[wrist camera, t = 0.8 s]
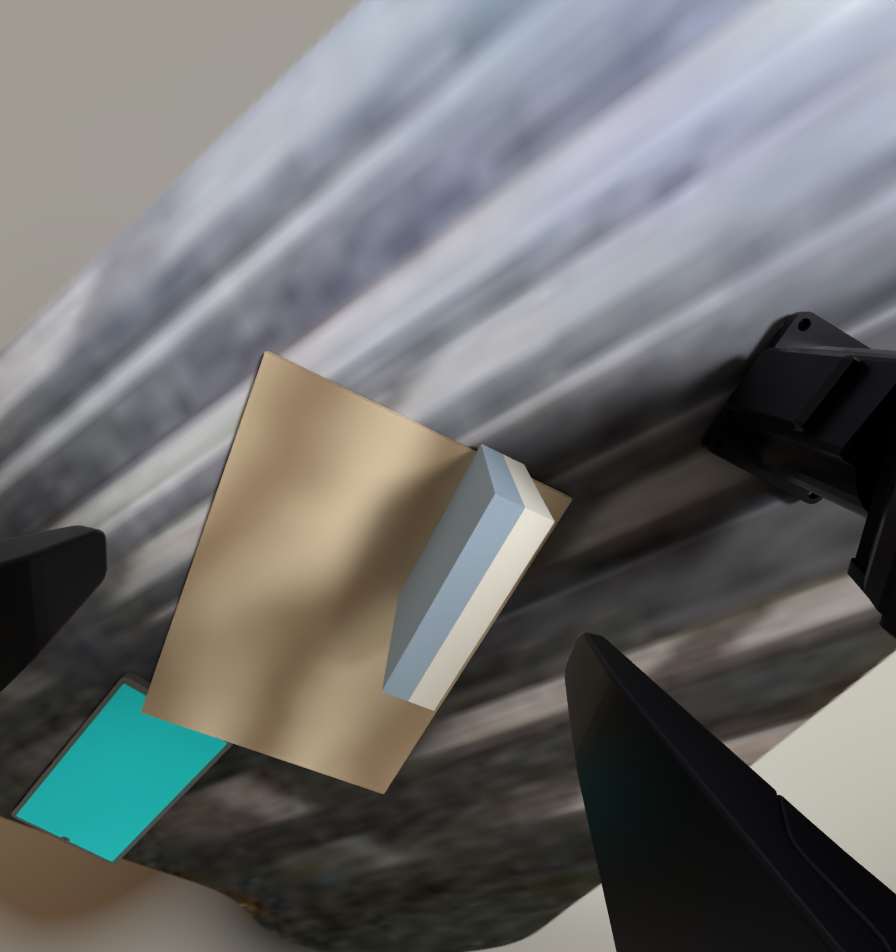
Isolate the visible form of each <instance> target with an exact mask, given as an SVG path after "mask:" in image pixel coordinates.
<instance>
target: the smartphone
mask: <svg viewBox="0 0 896 952" xmlns="http://www.w3.org/2000/svg"><path fill="white" fill-rule="evenodd" d="M150 684H151V683H150V682H148V681H147V680H145V679H143V678H141V677H140V676H138V675H136V674H134V673H132V672H127V673H126V674H124V676H123V677H122V678H121V679H120V680H119V681H118V682H117V684H116V685H115V686H114V687H113V689H112V690H111V691H110V692H109V694H108V695H107V696H106V697H105V698H104V700H103V701H102V702H101V703H100V705H99V706H98V707H97V708H96V710H95V711H94V712H93V713H92V715H91V716H90V717H89V718H88V719H87V721H86V722H85V723H84V724H83V726H82V727H81V728H80V729H79V731H78V732H77V733H76V734H75V736H74V737H73V738H72V739H71V740H70V742H69V743H68V744H67V745H66V747H63V748H62V749H61V751H60V752H59V753H58V754H57V755H56V757H55V758H56V759H55V760H54V761H53V763H50V764H49V765H48V767H47V768H46V769H45V770H44V772H43V773H42V774H41V775H40V776H39V778H38V779H37V780H36V781H35V783H34V784H33V785H32V786H31V788H30V789H29V790H28V791H27V795H26V796H25V797H24V798H23V800H22V801H21V802H20V803H19V805H18V806H17V807H16V808H15V810H14V811H13V812H12V816H13V817H14V818H15V819H17V820H20V821H22V822H24V823H26V824H28V825H30V826H32V827H34V828H36V829H39V830H41V831H43V832H45V833H47V834H49V835H51V836H53V837H55V838H57V839H59V840H60V841H63V842H65V843H68V844H70V845H73V846H74V847H77V848H79V849H81V850H83V851H85V852H87V853H89V854H91V855H93V856H95V857H98V858H100V859H102V860H104V861H106V862H108V863H111V864H116V863H117V862H118V861H119V860H120V859H121V858H122V857H123V856H124V855H125V854H126V853H127V852H128V851H129V850H130V849H131V848H132V847H133V846H134V845H135V844H136V843H137V842H138V841H139V840H140V839H141V838H142V837H143V836H144V835H145V834H146V833H147V832H148V831H149V830H150V829H151V828H152V826H153V825H154V824H155V823H156V822H157V821H158V820H159V819H160V818H161V817H162V816H163V815H164V814H165V813H166V812H167V811H168V810H169V809H170V808H171V807H172V806H173V805H174V804H175V803H176V802H177V801H178V800H179V799H180V798H181V797H182V796H183V795H184V794H185V793H186V792H187V791H188V790H189V789H190V788H191V787H192V786H193V785H194V784H195V783H196V782H197V781H198V779H199V778H200V777H201V776H202V775H203V774H204V773H205V772H206V771H207V770H208V769H209V768H210V767H211V766H212V765H213V764H214V763H215V762H216V761H217V760H218V759H219V758H220V757H221V756H222V755H223V754H224V753H225V752H226V751H227V750H228V749H229V748H230V747H231V746H232V745H233V743H230V742H227V741H224V740H221V739H219V738H218V737H212V736H209V735H206V734H203V733H200V732H197V731H194V730H191V729H188V728H186V727H183V726H180V725H177V724H174V723H171V722H168V721H165V720H162V719H159V718H156V717H153V716H150V715H147V714H144V713H141V710H142V708H143V705H144V702H145V699H146V696H147V693H148V690H149V687H150Z"/></svg>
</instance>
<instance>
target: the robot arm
mask: <svg viewBox="0 0 896 952" xmlns="http://www.w3.org/2000/svg"><path fill="white" fill-rule="evenodd" d="M801 320H803V326H802V328H801V329H800V330H799V329H798V324H799V322H800V321H801ZM718 437H719V442H718V443H717V444H716V445H714V446H713V441H714V440H715V439H716V438H718ZM702 445H703V447H704V448H705V449H706V450H708V451H709V452H711V453H713V454H715V455H717V456H719V457H721V458H723V459H725V460H726V461H728V462H730V463H732V464H734V465H736V466H738V467H740V468H741V469H743V470H745V471H747V472H749V473H751V474H753V475H755V476H757V477H758V478H760V479H762V480H764V481H766V482H768V483H770V484H772V485H773V486H775V487H777V488H779V489H781V490H783V491H785V492H787V493H789V494H790V495H792V496H794V497H796V498H798V499H800V500H802V501H804V502H806V503H809V504H815V503H817V502H819V501H820V500H821V499H822V498H825V499H827V500H829V501H831V502H833V503H836V504H838V505H840V506H842V507H844V508H846V509H848V510H851V511H853V512H855V513H857V514H859V515H861V516H863V517H865V518H867V519H866V522H865V526H864V529H863V533H862V536H861V540H860V544H859V547H858V551H857V554H856V558H852V559H851V561H850V565H849V568H848V572H847V573H848V575H849V576H850V577H851V578H852V579H853V580H854V581H855V583H856V584H857V585H858V586H859V587H860V588H861V590H862V591H863V592H864V593H865V594H866V595H867V597H868V598H869V599H870V601H871V602H872V604H873V605H874V606H875V608H876V609H877V610H878V611H879V612H880V613H881V614H882V615H881V619H880V622H879V624H880V625H881V627H882V628H883V629H884V630H885V631H886V632H887V633H888V634H889V635H891V636H892V637H893V638H895V639H896V351H891V350H876V349H870V348H869V347H867V346H865V345H864V344H862V343H861V342H859V341H857V340H856V339H854V338H852V337H851V336H849V335H848V334H846V333H844V332H843V331H841V330H840V329H838V328H836V327H835V326H833V325H831V324H830V323H828V322H827V321H825V320H823V319H822V318H820V317H818V316H817V315H815V314H814V313H811V312H796V313H794V314H792V315H791V316H790V317H789V318H788V319H787V320H786V322H785V323H784V325H783V326H782V327H781V329H780V330H779V332H778V333H777V334H776V336H775V337H774V339H773V340H772V341H771V343H770V344H769V346H768V347H767V348H766V350H763V351H762V352H761V354H760V355H759V357H758V358H757V360H756V361H755V362H754V364H753V365H752V367H751V368H750V369H749V371H748V372H747V374H746V375H745V376H744V378H743V379H742V381H741V382H740V383H739V385H738V386H737V388H736V389H735V390H734V392H733V393H732V395H731V396H730V398H729V399H728V400H727V405H726V406H725V407H724V409H723V410H722V412H721V413H720V414H719V416H718V417H717V419H716V420H715V421H714V423H713V424H712V426H711V427H710V428H709V430H708V431H707V433H706V434H705V435H704V438H703V440H702ZM809 492H812V493H811V494H810V495H808V494H809ZM106 571H107V553H106V536H105V534H104V532H102V531H101V530H99V529H94V528H89V527H85V526H71V527H65V528H60V529H55V530H50V531H44V532H39V533H34V534H29V535H23V536H18V537H13V538H8V539H2V540H0V692H1V691H2V690H3V689H4V688H5V687H6V686H7V685H8V684H9V683H10V682H11V681H12V680H13V679H15V678H16V677H17V676H18V675H19V674H20V673H21V672H22V671H23V670H24V669H25V668H26V667H27V666H28V665H29V664H30V663H31V662H32V661H33V660H34V659H35V658H36V657H37V656H38V655H39V654H40V653H41V651H42V650H43V649H44V648H45V647H46V646H47V645H48V644H49V643H50V642H51V640H52V639H53V638H54V637H55V636H56V635H57V634H58V632H59V631H60V630H61V629H62V628H63V627H64V625H65V624H66V623H67V622H68V621H69V620H70V618H71V617H72V616H73V615H74V614H75V613H76V612H77V610H78V609H79V608H80V607H81V606H82V605H83V603H84V602H85V601H86V600H87V599H88V598H89V597H90V595H91V594H92V593H93V592H94V591H95V590H96V588H97V587H98V586H99V585H100V584H101V582H102V581H103V579H104V577H105V575H106ZM565 684H566V693H567V702H568V710H569V719H570V728H571V736H572V745H573V752H574V758H575V763H576V769H577V773H578V778H579V783H580V787H581V792H582V796H583V801H584V805H585V810H586V814H587V819H588V824H589V828H590V833H591V837H592V842H593V846H594V851H595V856H596V860H597V865H598V869H599V874H600V878H601V883H602V887H603V892H604V897H605V901H606V906H607V910H608V915H609V919H610V924H611V928H612V933H613V937H614V942H615V947H616V951H617V952H896V894H895V893H894V892H892V890H890V889H889V888H888V887H887V886H886V885H884V884H883V883H882V882H881V881H880V880H878V879H877V878H876V877H875V876H874V875H872V874H871V873H870V872H869V871H868V870H866V869H865V868H864V867H863V866H862V865H860V864H859V863H858V862H857V861H855V860H854V859H853V858H852V857H851V856H850V855H848V854H847V853H846V852H845V851H844V850H842V848H840V847H839V846H838V845H837V844H836V843H835V842H834V841H832V840H831V839H830V838H829V837H828V836H826V834H824V833H823V832H822V831H821V830H820V829H819V828H817V827H816V826H815V825H814V824H813V823H812V822H811V821H809V820H808V819H807V818H806V817H805V816H804V815H803V814H802V813H800V812H799V811H798V810H797V809H796V808H795V807H794V806H793V805H791V804H790V803H789V802H788V801H787V800H786V799H785V798H784V797H782V796H781V795H777V793H776V791H775V789H773V788H772V787H771V786H770V785H769V784H768V783H767V782H766V781H764V780H763V779H762V778H761V777H760V776H759V775H758V774H757V773H756V772H754V771H753V770H752V769H751V768H750V767H749V766H748V765H747V764H746V763H744V762H743V761H742V760H741V759H740V758H739V757H738V756H737V755H735V754H734V753H733V752H732V751H731V750H730V749H729V748H728V747H726V746H725V745H724V744H723V743H722V742H721V741H720V740H719V739H718V738H716V737H715V736H714V735H713V734H712V733H711V732H710V731H709V730H707V729H706V728H705V727H704V726H703V725H702V724H701V723H700V722H698V721H697V720H696V719H695V718H694V717H693V716H692V715H691V714H689V713H688V712H687V711H686V710H685V709H684V708H683V707H682V706H681V705H679V704H678V703H677V702H676V701H675V700H674V699H673V698H672V697H670V696H669V695H668V694H667V693H666V692H665V691H664V690H663V689H661V688H660V687H659V686H658V685H657V684H656V683H655V682H654V681H653V680H651V679H650V678H649V677H648V676H647V675H646V674H645V673H644V672H642V671H641V670H640V669H639V668H638V667H637V666H636V665H635V664H633V663H632V662H631V661H630V660H629V659H628V658H627V657H626V656H625V655H623V654H622V653H621V652H620V651H619V650H618V649H617V648H616V647H614V646H613V645H612V644H611V643H610V642H609V641H608V640H607V639H605V638H604V637H603V636H601V635H597V634H592V633H587V632H582V633H580V634H579V635H578V637H577V639H576V641H575V644H574V646H573V649H572V651H571V653H570V656H569V658H568V661H567V663H566V667H565Z"/></svg>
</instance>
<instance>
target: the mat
mask: <svg viewBox="0 0 896 952" xmlns="http://www.w3.org/2000/svg"><path fill="white" fill-rule="evenodd" d="M476 452H477V451H475V450H473V449H471V448H469V447H467V446H465V445H462V444H460V443H458V442H456V441H454V440H452V439H450V438H448V437H446V436H444V435H442V434H440V433H438V432H436V431H433V430H431V429H429V428H427V427H425V426H423V425H421V424H419V423H417V422H415V421H413V420H411V419H409V418H407V417H404V416H402V415H400V414H398V413H396V412H394V411H392V410H390V409H388V408H386V407H384V406H382V405H380V404H378V403H375V402H373V401H371V400H369V399H367V398H365V397H363V396H361V395H359V394H357V393H355V392H353V391H351V390H349V389H346V388H344V387H342V386H340V385H338V384H336V383H334V382H332V381H330V380H328V379H326V378H324V377H322V376H320V375H317V374H315V373H313V372H311V371H309V370H307V369H305V368H303V367H301V366H299V365H297V364H295V363H293V362H291V361H288V360H286V359H284V358H282V357H280V356H278V355H276V354H274V353H272V352H270V351H266V352H265V353H264V356H263V359H262V362H261V365H260V368H259V371H258V374H257V377H256V379H255V382H254V385H253V388H252V391H251V394H250V397H249V400H248V403H247V406H246V408H245V411H244V414H243V417H242V420H241V423H240V426H239V429H238V432H237V435H236V438H235V440H234V443H233V446H232V449H231V452H230V455H229V458H228V461H227V464H226V467H225V469H224V472H223V475H222V478H221V481H220V484H219V487H218V490H217V493H216V496H215V499H214V501H213V504H212V507H211V510H210V513H209V516H208V519H207V522H206V525H205V528H204V530H203V533H202V536H201V539H200V542H199V545H198V548H197V551H196V554H195V557H194V559H193V562H192V565H191V568H190V571H189V574H188V577H187V580H186V583H185V586H184V589H183V591H182V594H181V597H180V600H179V603H178V606H177V609H176V612H175V615H174V618H173V620H172V623H171V626H170V629H169V632H168V635H167V638H166V641H165V644H164V647H163V650H162V652H161V655H160V658H159V661H158V664H157V667H156V670H155V673H154V676H153V679H152V681H151V684H150V687H149V690H148V693H147V696H146V699H145V702H144V705H143V708H142V710H141V713H144V714H147V715H150V716H153V717H156V718H159V719H162V720H165V721H168V722H171V723H174V724H177V725H180V726H183V727H186V728H188V729H191V730H194V731H197V732H200V733H203V734H206V735H209V736H212V737H218V738H219V739H221V740H224V741H227V742H230V743H233V744H236V745H239V746H242V747H245V748H248V749H251V750H254V751H257V752H260V753H263V754H266V755H269V756H272V757H275V758H278V759H281V760H284V761H287V762H290V763H293V764H296V765H299V766H301V767H304V768H307V769H310V770H313V771H316V772H319V773H322V774H325V775H328V776H331V777H334V778H337V779H340V780H343V781H346V782H349V783H352V784H355V785H358V786H361V787H364V788H367V789H370V790H373V791H376V792H379V793H382V794H384V793H385V791H386V790H387V788H388V787H389V785H390V784H391V782H392V781H393V779H394V777H395V776H396V774H397V773H398V771H399V770H400V768H401V767H402V765H403V763H404V762H405V760H406V759H407V757H408V756H409V754H410V752H411V751H412V749H413V748H414V746H415V745H416V743H417V742H418V740H419V738H420V737H421V735H422V734H423V732H424V731H425V729H426V728H427V726H428V724H429V723H430V721H431V720H432V718H433V717H434V715H435V713H436V712H437V710H438V709H439V707H440V706H441V704H442V703H443V701H444V699H445V698H446V696H447V695H448V693H449V692H450V690H451V689H452V687H453V685H454V684H455V682H456V681H457V679H458V678H459V676H460V674H461V673H462V671H463V670H464V668H465V667H466V665H467V664H468V662H469V660H470V659H471V657H472V656H473V654H474V653H475V651H476V649H477V648H478V646H479V645H480V643H481V642H482V640H483V639H484V637H485V635H486V634H487V632H488V631H489V629H490V628H491V626H492V625H493V623H494V621H495V620H496V618H497V617H498V615H499V614H500V612H501V610H502V609H503V607H504V606H505V604H506V603H507V601H508V600H509V598H510V596H511V595H512V593H513V592H514V590H515V589H516V587H517V586H518V584H519V582H520V581H521V579H522V578H523V576H524V575H525V573H526V571H527V570H528V568H529V567H530V565H531V564H532V562H533V561H534V559H535V557H536V556H537V554H538V553H539V551H540V550H541V548H542V547H543V545H544V543H545V542H546V540H547V539H548V537H549V536H550V534H551V532H552V531H553V529H554V528H555V526H556V525H557V523H558V522H559V520H560V518H561V517H562V515H563V514H564V512H565V511H566V509H567V508H568V506H569V504H570V503H571V501H572V498H571V497H570V496H568V495H566V494H564V493H562V492H560V491H558V490H556V489H554V488H552V487H549V486H547V485H545V484H543V483H541V482H539V481H537V480H535V479H533V478H531V479H532V480H533V482H534V484H535V486H536V488H537V490H538V492H539V493H540V495H541V497H542V499H543V501H544V503H545V505H546V506H547V508H548V510H549V512H550V514H551V516H552V518H553V519H554V521H555V522H554V524H553V525H552V527H551V528H550V530H549V531H548V533H547V535H546V536H545V538H544V539H543V541H542V542H541V544H540V545H539V547H538V549H537V550H536V552H535V553H534V555H533V556H532V558H531V560H530V561H529V563H528V564H527V566H526V567H525V569H524V571H523V572H522V574H521V575H520V577H519V578H518V580H517V582H516V583H515V585H514V586H513V588H512V589H511V591H510V593H509V594H508V596H507V597H506V599H505V600H504V602H503V603H502V605H501V607H500V608H499V610H498V611H497V613H496V614H495V616H494V618H493V619H492V621H491V622H490V624H489V625H488V627H487V629H486V630H485V632H484V633H483V635H482V636H481V638H480V640H479V641H478V643H477V644H476V646H475V647H474V649H473V651H472V652H471V654H470V655H469V657H468V658H467V660H466V662H465V663H464V665H463V666H462V668H461V669H460V671H459V672H458V674H457V676H456V677H455V679H454V680H453V682H452V683H451V685H450V687H449V688H448V690H447V691H446V693H445V694H444V696H443V698H442V699H441V701H440V702H439V704H438V705H437V707H436V709H435V710H434V711H433V710H430V709H427V708H425V707H422V706H419V705H417V704H414V703H411V702H409V701H406V700H403V699H401V698H398V697H395V696H393V695H390V694H387V693H385V692H382V687H383V681H384V675H385V670H386V664H387V658H388V652H389V647H390V641H391V635H392V630H393V624H394V618H395V613H396V607H397V601H398V597H399V595H400V593H401V591H402V589H403V587H404V585H405V584H406V582H407V580H408V578H409V576H410V574H411V572H412V571H413V569H414V567H415V565H416V563H417V561H418V560H419V558H420V556H421V554H422V552H423V550H424V548H425V547H426V545H427V543H428V541H429V539H430V537H431V535H432V534H433V532H434V530H435V528H436V526H437V524H438V523H439V521H440V519H441V517H442V515H443V513H444V511H445V510H446V508H447V506H448V504H449V502H450V500H451V498H452V497H453V495H454V493H455V491H456V489H457V487H458V485H459V484H460V482H461V480H462V478H463V476H464V474H465V473H466V471H467V469H468V467H469V465H470V463H471V461H472V460H473V458H474V456H475V454H476Z"/></svg>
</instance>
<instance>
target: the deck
mask: <svg viewBox="0 0 896 952" xmlns="http://www.w3.org/2000/svg"><path fill="white" fill-rule="evenodd" d="M554 522H555V521H554V519H553V518H552V516H551V514H550V512H549V510H548V508H547V506H546V505H545V503H544V501H543V499H542V497H541V495H540V493H539V492H538V490H537V488H536V486H535V484H534V482H533V480H532V479H531V477H530V475H529V473H528V471H527V469H526V467H525V466H524V464H522V463H520V462H518V461H516V460H514V459H512V458H510V457H508V456H506V455H504V454H501V453H499V452H497V451H495V450H493V449H491V448H489V447H487V446H485V445H483V444H481V445H480V447H479V448H478V450H477V452H476V454H475V456H474V458H473V460H472V461H471V463H470V465H469V467H468V469H467V471H466V473H465V474H464V476H463V478H462V480H461V482H460V484H459V485H458V487H457V489H456V491H455V493H454V495H453V497H452V498H451V500H450V502H449V504H448V506H447V508H446V510H445V511H444V513H443V515H442V517H441V519H440V521H439V523H438V524H437V526H436V528H435V530H434V532H433V534H432V535H431V537H430V539H429V541H428V543H427V545H426V547H425V548H424V550H423V552H422V554H421V556H420V558H419V560H418V561H417V563H416V565H415V567H414V569H413V571H412V572H411V574H410V576H409V578H408V580H407V582H406V584H405V585H404V587H403V589H402V591H401V593H400V595H399V597H398V601H397V607H396V613H395V618H394V624H393V630H392V635H391V641H390V647H389V652H388V658H387V664H386V670H385V675H384V681H383V687H382V692H385V693H387V694H390V695H393V696H395V697H398V698H401V699H403V700H406V701H409V702H411V703H414V704H417V705H419V706H422V707H425V708H427V709H430V710H433V711H434V710H435V709H436V707H437V705H438V704H439V702H440V701H441V699H442V698H443V696H444V694H445V693H446V691H447V690H448V688H449V687H450V685H451V683H452V682H453V680H454V679H455V677H456V676H457V674H458V672H459V671H460V669H461V668H462V666H463V665H464V663H465V662H466V660H467V658H468V657H469V655H470V654H471V652H472V651H473V649H474V647H475V646H476V644H477V643H478V641H479V640H480V638H481V636H482V635H483V633H484V632H485V630H486V629H487V627H488V625H489V624H490V622H491V621H492V619H493V618H494V616H495V614H496V613H497V611H498V610H499V608H500V607H501V605H502V603H503V602H504V600H505V599H506V597H507V596H508V594H509V593H510V591H511V589H512V588H513V586H514V585H515V583H516V582H517V580H518V578H519V577H520V575H521V574H522V572H523V571H524V569H525V567H526V566H527V564H528V563H529V561H530V560H531V558H532V556H533V555H534V553H535V552H536V550H537V549H538V547H539V545H540V544H541V542H542V541H543V539H544V538H545V536H546V535H547V533H548V531H549V530H550V528H551V527H552V525H553V524H554Z"/></svg>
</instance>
